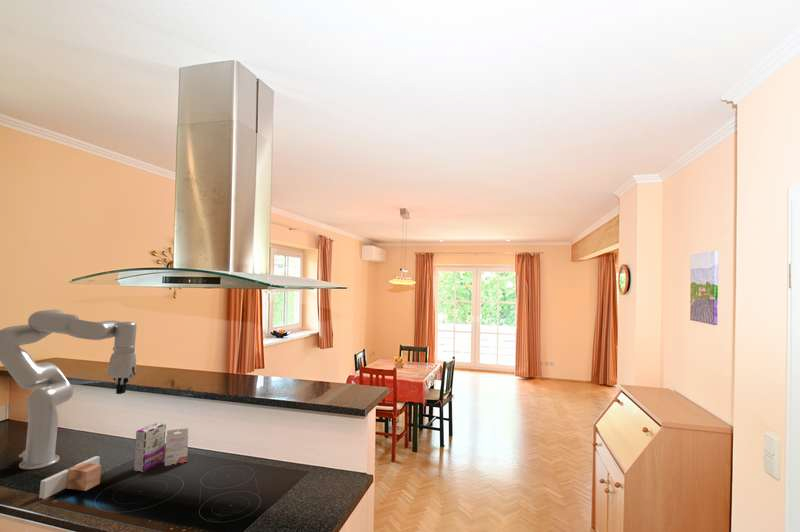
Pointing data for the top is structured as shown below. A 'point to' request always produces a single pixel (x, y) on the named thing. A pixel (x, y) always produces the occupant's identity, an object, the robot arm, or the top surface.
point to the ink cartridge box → (176, 446)
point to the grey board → (59, 480)
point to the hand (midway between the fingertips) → (120, 393)
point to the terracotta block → (84, 476)
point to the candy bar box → (149, 446)
